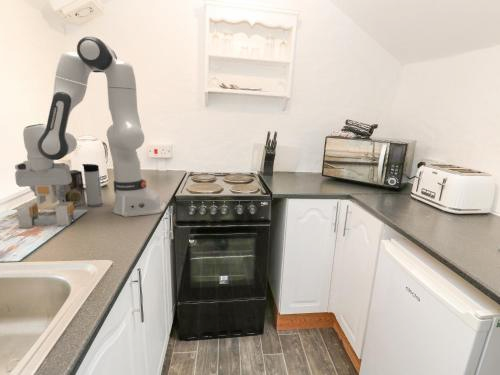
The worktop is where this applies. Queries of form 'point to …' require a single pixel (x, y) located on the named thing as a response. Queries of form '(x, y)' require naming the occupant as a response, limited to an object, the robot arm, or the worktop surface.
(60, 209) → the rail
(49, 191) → the notched cream cube
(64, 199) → the coffee box
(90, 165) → the travel mug
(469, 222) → the worktop surface
